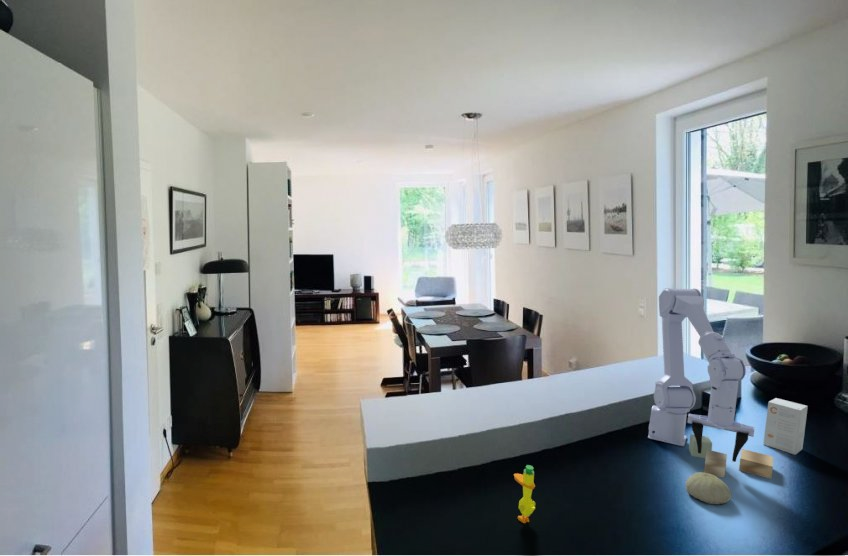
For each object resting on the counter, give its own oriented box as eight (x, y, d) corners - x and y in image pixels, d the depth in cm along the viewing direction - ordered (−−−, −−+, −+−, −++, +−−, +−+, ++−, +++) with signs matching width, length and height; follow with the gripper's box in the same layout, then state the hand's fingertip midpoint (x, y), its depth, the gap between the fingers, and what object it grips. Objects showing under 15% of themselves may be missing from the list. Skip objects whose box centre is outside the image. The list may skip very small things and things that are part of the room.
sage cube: (692, 456, 141) (693, 440, 141) (688, 449, 146) (690, 434, 145) (710, 459, 140) (712, 443, 140) (706, 452, 144) (708, 436, 144)
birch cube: (703, 472, 132) (705, 455, 132) (705, 465, 136) (706, 449, 136) (724, 477, 130) (726, 460, 130) (724, 470, 134) (726, 454, 133)
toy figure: (506, 513, 110) (509, 459, 109) (519, 509, 112) (522, 456, 111) (527, 530, 105) (531, 474, 103) (540, 525, 106) (544, 470, 105)
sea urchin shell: (724, 481, 125) (733, 469, 118) (727, 515, 120) (735, 505, 114) (682, 473, 127) (688, 461, 121) (683, 506, 123) (689, 496, 117)
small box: (802, 449, 149) (808, 405, 147) (795, 455, 145) (801, 410, 143) (770, 439, 155) (775, 397, 153) (762, 444, 151) (767, 401, 149)
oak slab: (738, 471, 134) (740, 458, 134) (740, 461, 140) (741, 448, 140) (771, 479, 131) (773, 466, 130) (771, 469, 136) (773, 456, 136)
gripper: (688, 402, 131) (683, 454, 133) (756, 416, 124) (750, 470, 125) (691, 395, 137) (685, 444, 139) (756, 407, 130) (749, 459, 131)
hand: (716, 455), depth 133 cm, fingers open, 7 cm apart
